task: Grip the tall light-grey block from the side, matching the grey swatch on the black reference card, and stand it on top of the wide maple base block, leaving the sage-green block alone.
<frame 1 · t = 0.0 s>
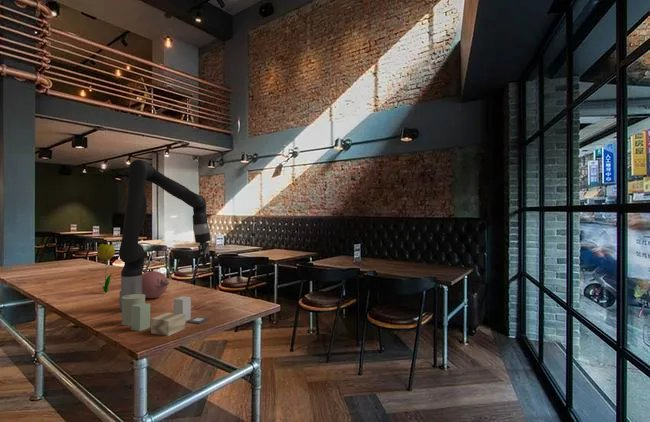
hand: (206, 263, 173), 22 cm above the table, tool pointing down, fingers open, 8 cm apart
can: (133, 322, 147), on the table
sage block: (140, 328, 139), on the table
base block: (168, 331, 137), on the table
grey block: (182, 320, 151), on the table
flower: (105, 293, 201), on the table
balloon: (155, 298, 189), on the table
reference card: (198, 321, 149), on the table
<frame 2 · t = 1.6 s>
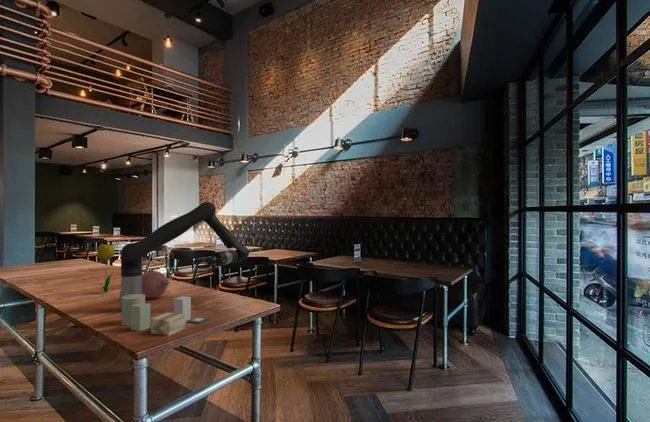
hand: (200, 262, 162), 24 cm above the table, tool horizontal, fingers open, 8 cm apart
nothing on the table moved.
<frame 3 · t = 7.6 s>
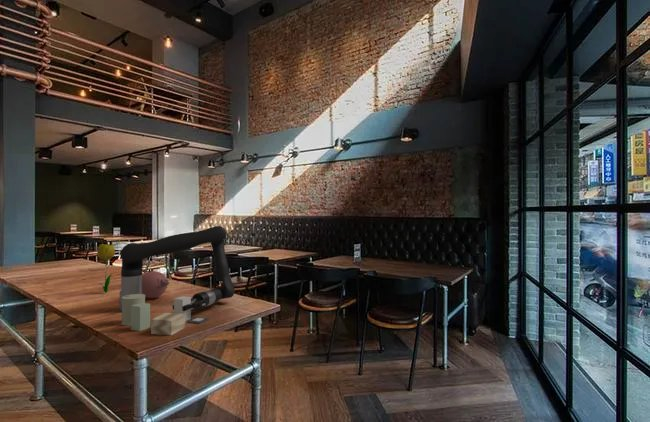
hand: (178, 308, 148), 6 cm above the table, tool horizontal, fingers closed on grey block, 5 cm apart
grey block: (182, 319, 151), on the table, touching gripper
everything else where it was.
when the fingers open (13 cm above the table, at t = 12.4 s): grey block drops 2 cm, resting on base block.
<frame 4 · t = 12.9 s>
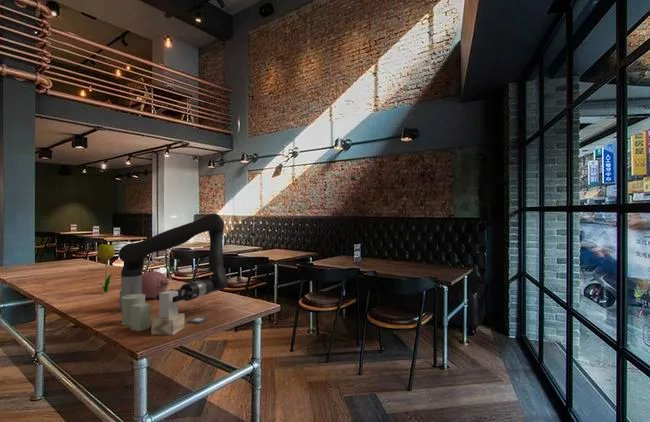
hand: (165, 298, 135), 14 cm above the table, tool horizontal, fingers open, 8 cm apart
base block: (168, 331, 137), on the table, touching grey block
grey block: (168, 316, 137), point 6 cm above the table, touching base block
everything else where it was.
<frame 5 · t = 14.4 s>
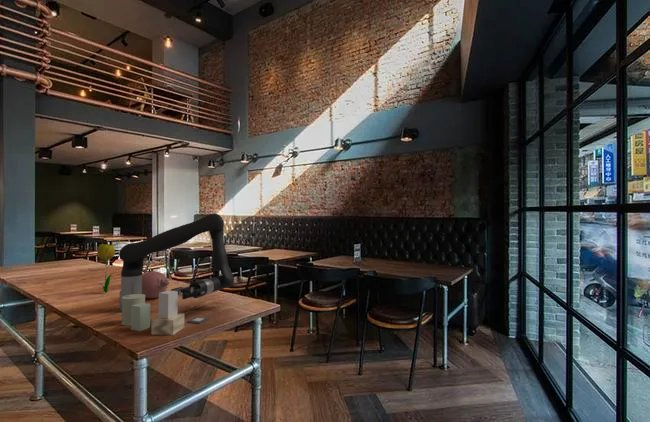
hand: (174, 295, 140), 13 cm above the table, tool horizontal, fingers open, 8 cm apart
nothing on the table moved.
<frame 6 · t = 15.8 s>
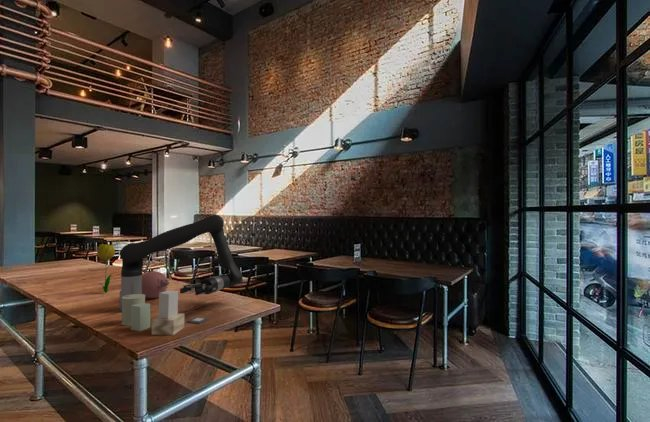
hand: (188, 291, 147), 14 cm above the table, tool horizontal, fingers open, 8 cm apart
base block: (168, 331, 137), on the table
grey block: (168, 316, 137), point 6 cm above the table
everything else where it was.
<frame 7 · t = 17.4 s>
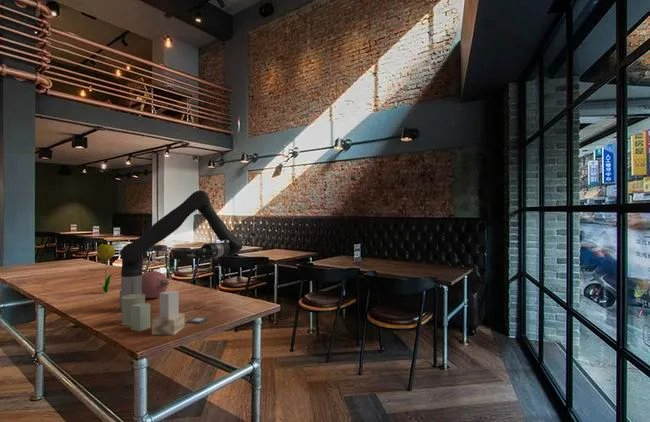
hand: (188, 254, 148), 30 cm above the table, tool horizontal, fingers open, 8 cm apart
base block: (168, 331, 137), on the table, touching grey block
grey block: (169, 316, 137), point 6 cm above the table, touching base block
everything else where it was.
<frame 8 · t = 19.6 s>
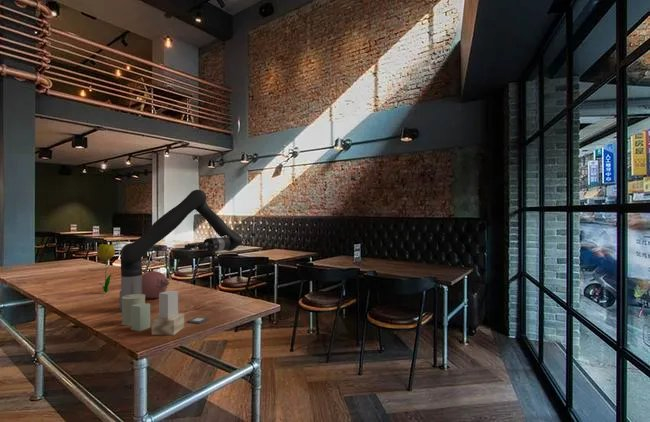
hand: (192, 247, 159), 32 cm above the table, tool horizontal, fingers open, 8 cm apart
base block: (168, 331, 137), on the table
grey block: (168, 316, 137), point 6 cm above the table
everything else where it was.
at the end: grey block 0.1 cm off-centre on the base block, point 6.0 cm above the base block's base; grey block tilted 1°; grey block touching base block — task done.
